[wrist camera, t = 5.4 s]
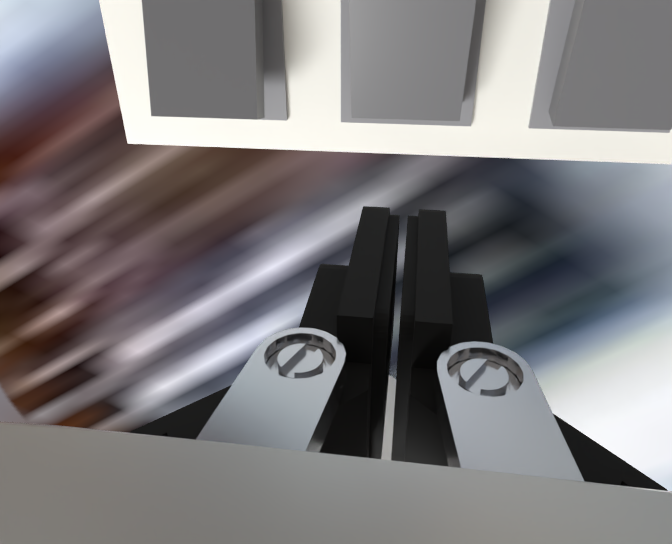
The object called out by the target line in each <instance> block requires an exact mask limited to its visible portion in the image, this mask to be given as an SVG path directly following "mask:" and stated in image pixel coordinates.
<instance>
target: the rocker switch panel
mask: <svg viewBox="0 0 672 544" xmlns="http://www.w3.org/2000/svg"><path fill="white" fill-rule="evenodd" d="M262 1H263V54H264V108H265V118H262V119H258V120H252V119H221V118H190V117H159V116H151V107H150V95H149V83H148V71H147V59H146V46H145V34H144V22H143V10H142V0H99V2H100V7H101V12H102V17H103V22H104V27H105V32H106V37H107V42H108V47H109V52H110V57H111V62H112V67H113V72H114V77H115V82H116V87H117V92H118V97H119V102H120V107H121V112H122V117H123V122H124V127H125V132H126V137H127V142H128V144H153V145H179V146H206V147H232V148H258V149H284V150H310V151H337V152H363V153H389V154H415V155H441V156H468V157H494V158H520V159H546V160H572V161H599V162H625V163H651V164H672V129H671V130H654V129H622V128H591V127H559V126H553V125H552V122H551V118H550V115H549V108H550V104H551V99H552V95H553V91H554V87H555V83H556V79H557V74H558V70H559V66H560V62H561V58H562V54H563V50H564V45H565V41H566V37H567V33H568V29H569V25H570V20H571V16H572V12H573V8H574V4H575V0H476V5H475V13H474V20H473V27H472V35H471V42H470V50H469V57H468V64H467V72H466V79H465V86H464V94H463V101H462V108H461V116H460V121H435V120H403V119H371V118H352V114H351V74H350V34H349V0H262Z"/></svg>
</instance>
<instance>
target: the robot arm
mask: <svg viewBox="0 0 672 544" xmlns="http://www.w3.org/2000/svg"><path fill="white" fill-rule="evenodd" d="M398 235H399V215H390V208H384V207H365V206H363V209H362V214H361V218H360V222H359V226H358V230H357V234H356V238H355V242H354V246H353V250H352V254H351V259H350V263H349V266H345V265H330V264H320V266H319V269H318V272H317V275H316V278H315V281H314V284H313V287H312V290H311V293H310V296H309V299H308V302H307V305H306V308H305V311H304V314H303V317H302V320H301V323H300V326H299V328H292V329H286V330H283V331H280V332H277V333H274V334H273V335H271V336H269V337H268V338H266V339H265V340H264V341H263V342H262V343H261V344H260V345H259V346H258V347H257V348H256V350H255V351H254V353H253V354H252V356H251V357H250V359H249V360H248V362H247V363H246V365H245V366H244V368H243V369H242V371H241V372H240V374H239V375H238V377H237V378H236V380H235V381H234V383H233V384H232V385H231V386H229V387H226V388H224V389H222V390H220V391H218V392H216V393H213V394H211V395H209V396H207V397H205V398H203V399H200V400H198V401H196V402H194V403H192V404H190V405H187V406H185V407H183V408H181V409H179V410H176V411H174V412H172V413H170V414H168V415H166V416H163V417H161V418H159V419H157V420H155V421H153V422H150V423H148V424H146V425H144V426H142V427H139V428H137V429H135V430H133V431H131V432H129V433H126V432H116V431H106V430H97V429H87V428H77V427H67V426H56V425H42V424H27V423H13V422H0V544H672V491H668V490H667V489H665V488H664V487H662V486H661V485H659V484H658V483H656V482H655V481H653V480H652V479H650V478H649V477H647V476H646V475H644V474H643V473H641V472H640V471H638V470H637V469H635V468H634V467H632V466H631V465H629V464H628V463H626V462H625V461H623V460H622V459H620V458H619V457H617V456H616V455H614V454H613V453H611V452H610V451H608V450H607V449H605V448H604V447H602V446H601V445H599V444H598V443H596V442H595V441H593V440H592V439H590V438H589V437H587V436H586V435H584V434H583V433H581V432H580V431H578V430H577V429H575V428H574V427H572V426H571V425H569V424H568V423H566V422H565V421H563V420H562V419H560V418H559V417H557V416H556V415H554V414H553V413H552V411H551V409H550V407H549V405H548V402H547V400H546V398H545V396H544V394H543V392H542V390H541V387H540V385H539V383H538V381H537V379H536V377H535V375H534V373H533V370H532V369H531V367H530V366H529V365H528V363H527V362H526V361H525V360H524V359H523V358H522V357H520V356H519V355H518V354H517V353H515V352H513V351H511V350H509V349H507V348H505V347H503V346H499V345H496V344H493V340H492V333H491V327H490V321H489V314H488V308H487V302H486V295H485V289H484V283H483V277H482V275H481V274H466V273H451V272H450V271H449V255H448V239H447V222H446V211H440V210H421V209H419V214H418V216H408V223H407V236H406V249H405V262H404V276H403V289H402V302H401V316H400V330H399V345H398V361H397V376H396V392H395V407H394V423H393V438H392V453H391V460H382V459H381V457H382V446H383V435H384V424H385V413H386V402H387V391H388V380H389V369H390V358H391V347H392V336H393V321H394V304H395V287H396V269H397V252H398Z"/></svg>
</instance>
